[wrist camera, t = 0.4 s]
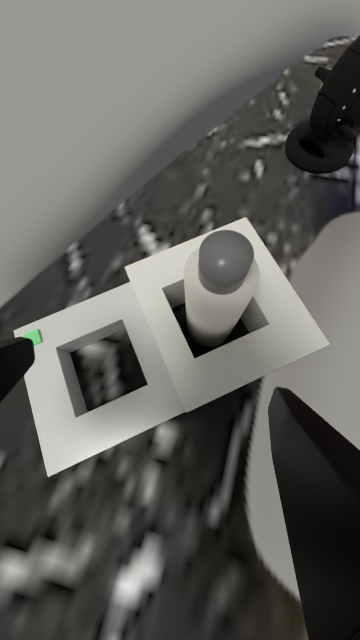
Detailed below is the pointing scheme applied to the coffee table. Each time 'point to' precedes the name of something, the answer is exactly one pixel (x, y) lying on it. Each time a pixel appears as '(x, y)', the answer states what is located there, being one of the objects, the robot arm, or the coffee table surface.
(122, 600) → the coffee table surface
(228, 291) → the plug
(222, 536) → the coffee table surface
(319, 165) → the webcam
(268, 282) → the jack housing
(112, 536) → the coffee table surface
